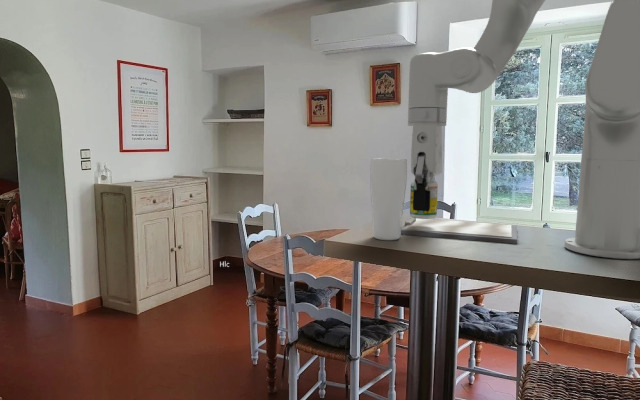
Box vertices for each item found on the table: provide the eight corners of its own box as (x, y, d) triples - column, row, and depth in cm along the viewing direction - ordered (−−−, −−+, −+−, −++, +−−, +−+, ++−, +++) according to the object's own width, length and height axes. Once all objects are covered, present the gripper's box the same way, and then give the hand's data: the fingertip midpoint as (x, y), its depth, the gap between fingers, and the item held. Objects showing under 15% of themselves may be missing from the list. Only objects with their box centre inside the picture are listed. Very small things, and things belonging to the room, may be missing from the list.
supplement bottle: (442, 218, 97) (444, 170, 95) (421, 220, 94) (423, 171, 93) (424, 214, 101) (426, 169, 100) (404, 216, 99) (405, 169, 98)
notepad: (516, 229, 102) (516, 221, 101) (517, 243, 87) (517, 235, 87) (412, 221, 110) (412, 214, 109) (397, 233, 95) (397, 225, 95)
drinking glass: (393, 243, 86) (396, 159, 84) (361, 238, 90) (363, 158, 88) (410, 237, 91) (413, 159, 89) (380, 233, 95) (382, 157, 94)
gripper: (440, 116, 86) (436, 215, 88) (451, 120, 102) (447, 204, 104) (399, 116, 89) (396, 213, 91) (416, 120, 104) (413, 202, 107)
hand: (423, 207), depth 97 cm, fingers closed on supplement bottle, 5 cm apart
